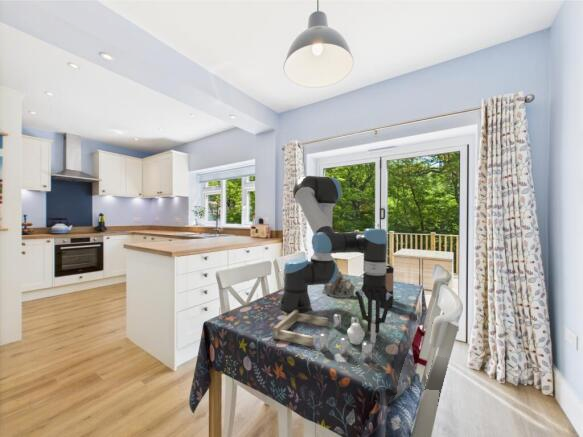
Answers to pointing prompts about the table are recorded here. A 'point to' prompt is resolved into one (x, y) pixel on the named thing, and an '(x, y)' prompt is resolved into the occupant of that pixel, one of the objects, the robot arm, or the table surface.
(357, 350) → the table surface
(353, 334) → the grey faceted vase
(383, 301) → the travel mug
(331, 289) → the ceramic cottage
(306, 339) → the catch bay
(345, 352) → the spacer field
